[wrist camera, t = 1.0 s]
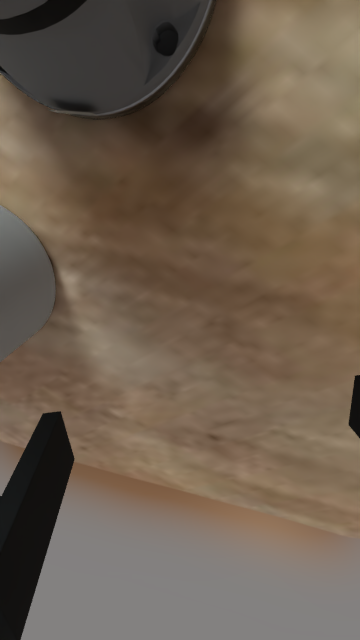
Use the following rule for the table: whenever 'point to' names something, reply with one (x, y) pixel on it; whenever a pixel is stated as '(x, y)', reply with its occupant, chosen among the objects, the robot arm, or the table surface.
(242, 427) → the table surface
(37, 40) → the robot arm
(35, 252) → the cylinder vase
